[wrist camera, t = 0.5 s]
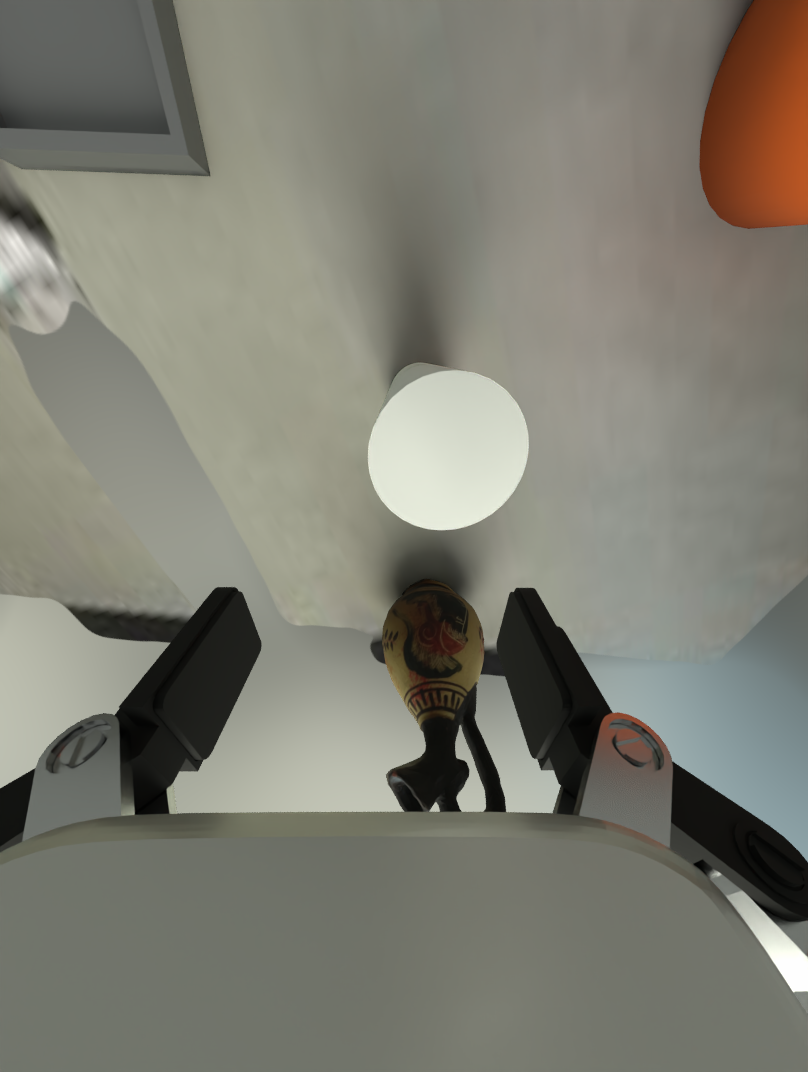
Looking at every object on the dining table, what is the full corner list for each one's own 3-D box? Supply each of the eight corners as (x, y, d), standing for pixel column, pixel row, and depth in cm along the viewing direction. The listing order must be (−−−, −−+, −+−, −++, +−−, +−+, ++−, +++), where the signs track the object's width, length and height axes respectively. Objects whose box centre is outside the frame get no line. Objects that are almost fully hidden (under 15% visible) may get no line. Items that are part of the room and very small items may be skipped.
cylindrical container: (395, 433, 36) (385, 539, 15) (383, 368, 33) (349, 388, 11) (451, 423, 36) (524, 519, 15) (446, 356, 32) (534, 353, 11)
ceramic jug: (375, 621, 54) (351, 857, 29) (398, 557, 46) (394, 800, 21) (459, 639, 57) (506, 868, 31) (495, 580, 49) (595, 822, 24)
